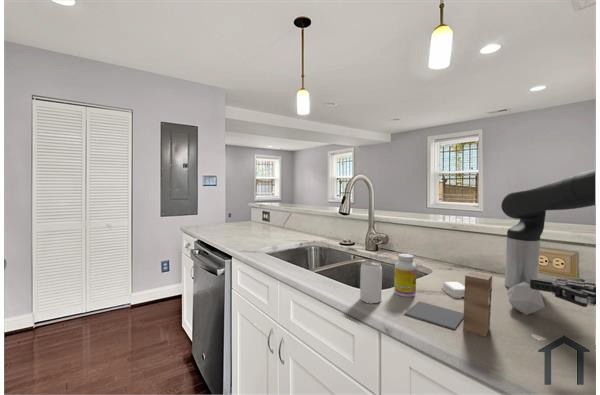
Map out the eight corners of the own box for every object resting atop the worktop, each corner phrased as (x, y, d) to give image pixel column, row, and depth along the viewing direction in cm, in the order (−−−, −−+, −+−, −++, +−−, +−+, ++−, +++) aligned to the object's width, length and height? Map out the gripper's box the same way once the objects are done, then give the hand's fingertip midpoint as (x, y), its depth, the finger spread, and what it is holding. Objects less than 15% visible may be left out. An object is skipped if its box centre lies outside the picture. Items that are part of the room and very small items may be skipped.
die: (515, 304, 94) (498, 280, 93) (548, 297, 89) (530, 271, 88) (519, 324, 88) (501, 298, 87) (554, 317, 83) (535, 290, 82)
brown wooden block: (467, 322, 81) (469, 270, 80) (491, 329, 78) (493, 275, 77) (463, 329, 77) (465, 275, 76) (487, 337, 74) (489, 280, 73)
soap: (439, 288, 107) (439, 280, 106) (459, 288, 107) (459, 280, 107) (453, 299, 98) (453, 290, 97) (474, 298, 98) (474, 290, 98)
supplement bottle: (415, 299, 97) (416, 258, 96) (393, 296, 99) (394, 256, 98) (415, 291, 103) (416, 253, 102) (394, 288, 105) (395, 252, 104)
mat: (418, 302, 94) (418, 301, 94) (465, 315, 86) (465, 313, 86) (404, 314, 86) (404, 313, 86) (454, 330, 77) (454, 328, 77)
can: (375, 306, 91) (375, 266, 91) (356, 300, 96) (356, 262, 95) (385, 299, 96) (385, 262, 95) (366, 294, 101) (367, 258, 100)
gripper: (637, 275, 64) (533, 261, 75) (651, 292, 54) (528, 273, 65) (635, 310, 64) (532, 291, 76) (648, 334, 54) (526, 308, 66)
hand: (530, 283), depth 70 cm, fingers closed
